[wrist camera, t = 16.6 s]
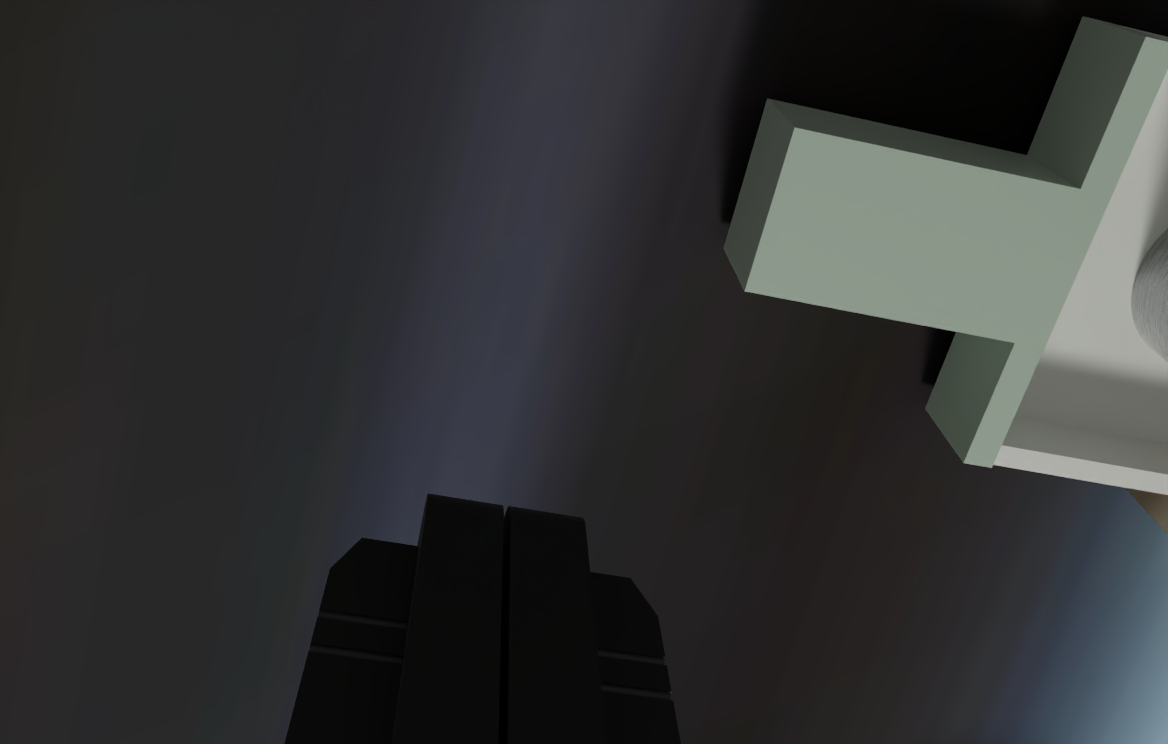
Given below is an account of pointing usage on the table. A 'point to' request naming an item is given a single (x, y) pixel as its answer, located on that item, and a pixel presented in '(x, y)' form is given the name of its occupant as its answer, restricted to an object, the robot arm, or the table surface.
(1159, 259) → the canister
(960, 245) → the tray
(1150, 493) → the dock
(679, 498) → the table surface
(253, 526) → the table surface
